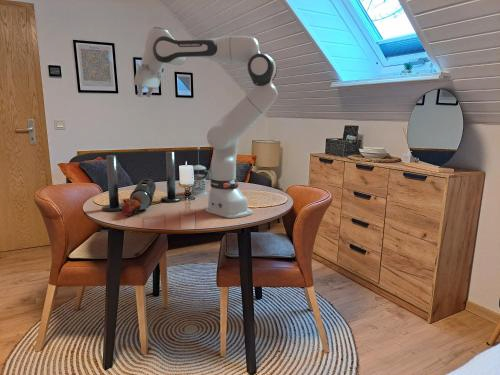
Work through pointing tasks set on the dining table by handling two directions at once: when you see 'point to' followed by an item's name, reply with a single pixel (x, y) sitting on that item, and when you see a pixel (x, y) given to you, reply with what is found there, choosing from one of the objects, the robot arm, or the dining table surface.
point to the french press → (199, 189)
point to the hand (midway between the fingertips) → (144, 96)
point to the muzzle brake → (144, 193)
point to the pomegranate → (131, 207)
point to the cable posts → (113, 183)
